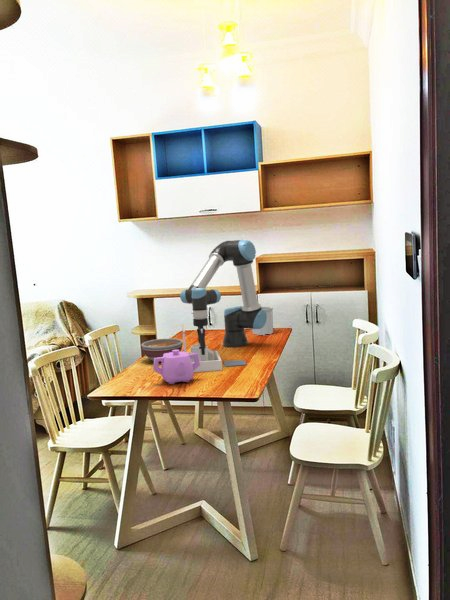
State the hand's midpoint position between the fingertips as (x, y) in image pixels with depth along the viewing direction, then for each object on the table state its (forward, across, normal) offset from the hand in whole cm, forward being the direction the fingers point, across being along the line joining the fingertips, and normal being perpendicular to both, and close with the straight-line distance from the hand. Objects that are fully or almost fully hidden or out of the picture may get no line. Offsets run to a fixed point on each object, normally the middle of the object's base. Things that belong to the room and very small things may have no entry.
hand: (202, 358), depth 296 cm
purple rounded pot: (+5, +26, -14) cm, 30 cm away
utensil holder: (+4, -77, +45) cm, 90 cm away
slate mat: (+4, +1, +17) cm, 17 cm away
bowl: (+4, -22, -21) cm, 31 cm away
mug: (+4, 0, 0) cm, 4 cm away
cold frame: (+4, 0, 0) cm, 4 cm away
